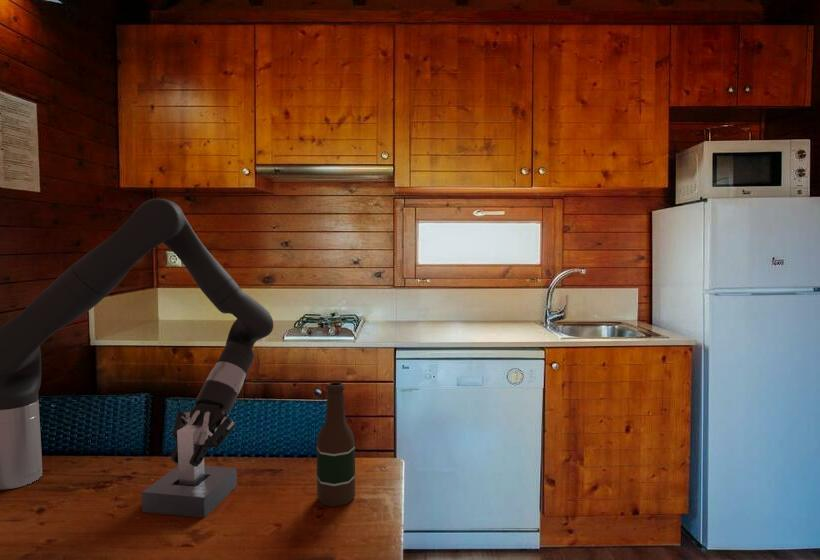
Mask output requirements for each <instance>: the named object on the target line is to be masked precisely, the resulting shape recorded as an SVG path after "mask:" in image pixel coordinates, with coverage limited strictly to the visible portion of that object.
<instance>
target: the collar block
mask: <svg viewBox="0 0 820 560" xmlns="http://www.w3.org/2000/svg"><path fill="white" fill-rule="evenodd" d="M204 472H205V480H204V481H203V482H202V483H201V484H199V485H198V486H197V487H192V486H181V485H179V468H178V465H176V467H174V468H173V469H171V470H169V472H167V473H166V474H165V475H163V476H162V477H160V478H159V479H158V480H156V481H155V482H153V483H152V484H151V485H149V486H148V487H147V488H145V489H144V490H143V491H141V506H142V512H143V513H149V514H150V513H151V514H152V513H153V514H159V515H160V514H161V515H170V516H171V515H173V516H182V517H183V516H184V517H193V518H206V517H207V516H208V515H209V514H210V513H211V512H212V511H214V509H216V507H217V506H219V504H220V503H222V501H223V500H225V498H227V497H228V495H230V494H231V491H232V490H233V489H234V488H235V487H236V486H237V487H238V475H237V473H238V472H237V468H236V467H225V466H213V465H212V466H211V465H204ZM237 487H236V488H237ZM236 488H235V489H236ZM233 491H234V490H233Z"/></svg>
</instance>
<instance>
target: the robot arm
mask: <svg viewBox="0 0 820 560" xmlns="http://www.w3.org/2000/svg"><path fill="white" fill-rule="evenodd" d="M161 244H164V246H166V247H167V248H168V249H169V250H171V251H172V253H173V254H174V255H175V256H176V257H177V258H178V259H179V261H180V262H181V263H182V264H183V265H184V267H185V268H186V269H187V271H188V273H189V274H190V275H191V277H192V279H193V281H194V282H195V283H196V285H197V286H198V288H199V289H200V290H201V292H202V293H203V294H204V295H205V296H206V298H207V299H209V301H210V303H212V305H213V306H214V307H215V308H216V309H217V310H218V311H219V312H220V313H222V314H231V315H233V316H234V317H235V318H236V319H235V320H234V321H233V323H232V325H231V327H230V330H229V332H228V335H227V338H226V343H225V346H224V348H223V350H222V352H221V354H220V355H219V357H218V360H217V361H216V364H215V365H214V367H212V368H211V371H209V374H208V375H207V378H206V380H205V381H204V384H203V385H202V387H201V389H200V391H199V393H198V395H197V397H196V401H195V402H196V403H195V405H194V407H193V408H191V410H189V411H187V412H183V411H182V410H180V411H178V412H177V414H176V418H175V423H174V427H173V432H172V438H174V439H175V440H176V441H177V431H178V430H179V429H181V428H183V427H184V426H186V425H199V426H203V427H202V430H201V434H202V435H201V439H200V445H197V447H196V449H195V451H194V453H193V455H192V457H191V459H190V462H189V463H190V464H191V465H192V466H195V467H197V466H198V465H199V464H200V463H201V462H202V460H203V458H204V459H205V456H206V454H207V452H208V450H210V449H212V448H215V449H217V448H219V447H220V446H221V444H223V442H224V441H225V439H226V438H227V437H228V436H229V434H230V433H231V432H232V431H233V429H235V427H236V423H235V421H233V419H231V418H230V417H228V414H229V413H231V410H232V408H233V406H234V404H235V402H236V400H237V397H238V396H239V394H240V392H241V390H242V388H243V385H244V382H245V379H246V377H247V374H248V372H249V370H250V368H251V365H252V364H253V362H254V357H255V352H254V350H253V347H254V345H255V344H256V342H258V341H259V340H262V339H264V338H267V336H269V335H270V334H271V333H272V331H273V329H274V320H273V317H272V315H271V314H270V312H269V311H268V310H267V309H266V307H264V305H262V304H261V303H260V302H258V301H257V300H255V299H254V298H253V297H252V296H250V295H249V294H247V293H246V292H244V291H243V289H242V288H241V287H240V285H239V284H238V283H237V282H236V281H235V279H234V278H233V277H232V276H231V275H230V274H229V272H228V271H226V270H225V268H223V266H222V265H221V263H220V262H219V261H218V260H217V259H216V258H215V257H214V255H212V254H211V253H210V252H209V250H208V249H207V248H206V246H205V245H204V243H202V241H201V240H200V238H199V237H198V235H197V234H196V233H195V230H193V227H192V226H191V224H190V222H189V221H188V219H187V218H186V216H185V214H184V212H183V209H182V208H181V207H180V206H179V205H178V204H177V203H176V202H175V201H172V200H171V199H166V198H160V197H159V198H156V197H155V198H151V199H148V200H146V201H144V202H143V203H141V204H140V205H139V206H138V207H137V209H135V211H134V212H133V213H132V214H131V215H130V216H128V218H127V220H126V221H125V222H124V223H122V225H121V226H120V227H119V228H118V229H117V230H116V231H115V232H114V233H113V234H112V235H110V237H108V238H107V239H105V240H104V241H103V242H101V243H99V244H98V245H97V246H95V247H94V248H92V249H91V250H90V251H88V252H87V253H86V254H84V255H83V256H82V257H81V258H80V259H78V260H77V261H75V262H74V263H73V264H72V265H71V266H69V267H68V268H67V269H66V270H64V271H63V273H61V274H60V275H59V276H58V277H56V278H55V280H54V281H53V282H52V283H50V284H49V285H48V286H47V287H46V288H45V289H44V290H43V291H42V292H41V293H39V295H37V297H35V299H34V300H32V302H31V303H29V305H28V306H27V307H25V308H24V309H23V310H22V311H21V312H20V313H19V314H17V315H16V316H15V317H13V318H11V319H10V320H9V321H8V322H6V323H5V324H3V325H2V326H0V490H11V489H17V488H21V487H25V486H27V484H28V485H30V484H33V483H35V482H37V481H38V480H39V478H40V477H41V476H43V474H42V473H43V459H42V458H43V456H42V441H41V440H42V439H41V438H42V437H41V436H42V435H41V424H40V423H41V421H40V420H41V419H40V404H39V402H40V401H39V390H40V388H41V384H42V351H41V345H42V344H44V343H45V341H47V340H48V339H49V338H50V337H51V336H53V335H54V334H55V333H57V332H58V331H60V330H61V329H63V328H65V327H67V326H68V325H70V324H71V323H73V322H74V321H76V320H77V319H79V318H80V317H83V315H84V314H86V313H87V312H89V311H90V310H92V309H93V308H94V307H95V306H97V305H98V304H99V303H100V302H101V301H102V300H103V299H105V298H106V297H107V296H108V295H109V294H111V292H112V291H113V290H114V289H116V288H117V286H118V285H119V284H120V283H121V282H122V281H123V279H124V278H125V277H126V276H127V274H128V273H129V272H130V271H131V270H132V268H133V267H134V266H135V265H136V264H137V262H138V261H141V259H142V258H143V257H144V256H146V255H147V254H149V253H150V252H152V250H154V249H155V248H156V247H158V246H159V245H161ZM170 457H171V458H170V460H171V461H172V462H174V464H178V442H177V443H176V445H175V447H174V450H173V451H172V453H171V456H170ZM41 478H42V477H41ZM41 478H40V479H41ZM36 480H37V481H36ZM34 481H35V482H34ZM32 482H33V483H32Z"/></svg>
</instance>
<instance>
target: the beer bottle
mask: <svg viewBox="0 0 820 560" xmlns="http://www.w3.org/2000/svg"><path fill="white" fill-rule="evenodd" d="M325 389H326V393H327V394H326V412H325V413H326V415H325V420H324V424H323V425H322V426H321V428H320V430H318V431H319V432H318V435H317V437H316V494H317V499H318V501H319V502H320V503H321V505H323V506H325V507H326V506H327V507H331V508H336V507H341V506H347V505H349V504H350V502H352V500H353V499H354V498H355V496H356V442H355V436H354V433H353V430H352V429H351V427H350V426H349V425H348V423H347V419H346V412H345V396H344V395H345V394H344V390H346V388H345V384H343V383H342V382H340V381H334V382H333V381H332V382H330V383H328V384H326V388H325ZM346 504H347V505H346Z"/></svg>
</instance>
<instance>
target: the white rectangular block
mask: <svg viewBox="0 0 820 560" xmlns="http://www.w3.org/2000/svg"><path fill="white" fill-rule="evenodd" d="M202 427H203V426H199V425H186V426H184V427H183V428H181V429H179V430H178V431H177V440H176V441H177V443H178V463H177V464H178V465H177V466H178V468H179V485H181V486H192V487H197V486H198V485H199V484H201V483H202V482H203V481H204V480H205V472H204V466H205V457H204V458H203V460H202V462H201V463H200V464H199V465H198V466H197V467H195V466H192V465H191V464H190V463H189V462H190V459H191V457H192V455H193V453H194V451H195V449H196V447H197V445H200V439H201V435H202V434H201V430H202Z"/></svg>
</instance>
